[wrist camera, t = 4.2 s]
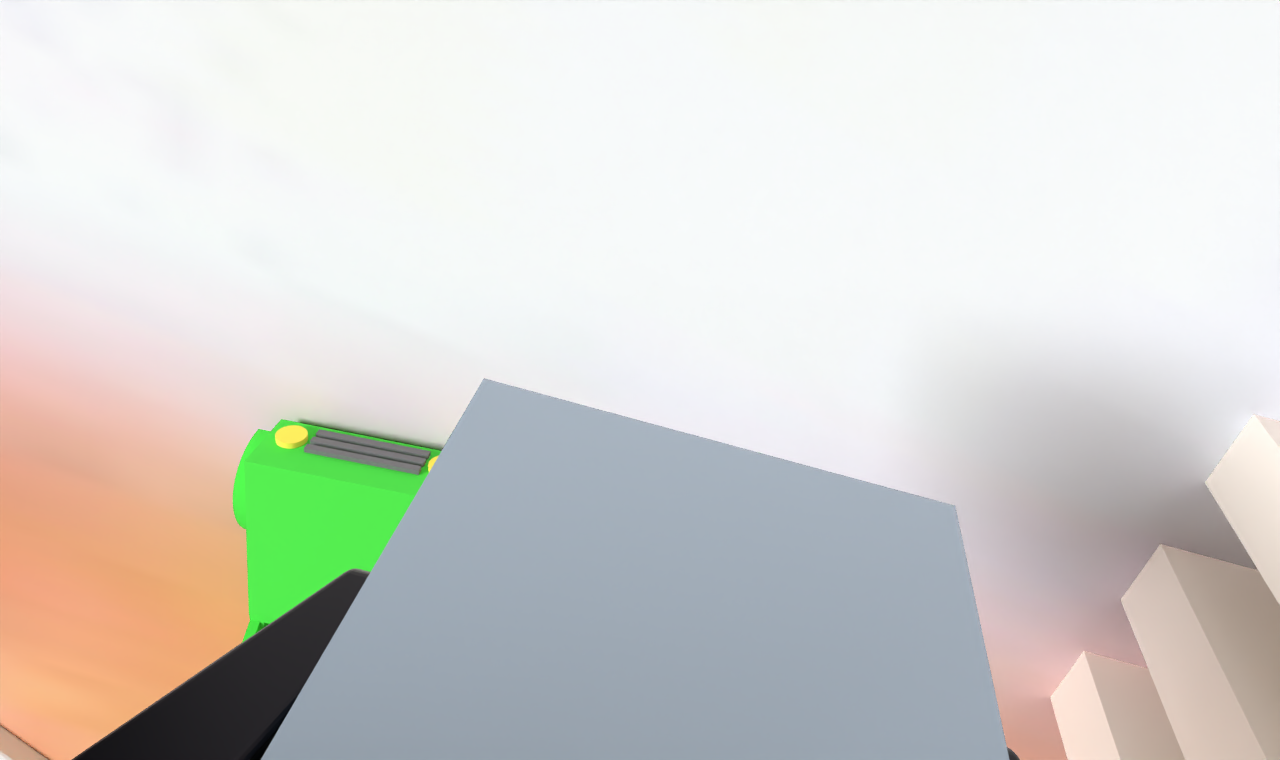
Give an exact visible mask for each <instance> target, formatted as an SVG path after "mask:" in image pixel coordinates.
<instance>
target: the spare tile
mask: <svg viewBox="0 0 1280 760" xmlns="http://www.w3.org/2000/svg"><path fill="white" fill-rule="evenodd" d="M261 760H1009V755H1008V751H1007V746H1006V741H1005V737H1004V732H1003V727H1002V723H1001V718H1000V713H999V709H998V704H997V699H996V695H995V690H994V685H993V681H992V676H991V671H990V667H989V662H988V657H987V653H986V648H985V643H984V639H983V634H982V629H981V625H980V620H979V615H978V611H977V606H976V601H975V597H974V592H973V587H972V583H971V578H970V573H969V569H968V564H967V559H966V555H965V550H964V545H963V540H962V536H961V531H960V526H959V522H958V517H957V512H956V508H955V506H954V505H950V504H946V503H943V502H939V501H935V500H932V499H928V498H924V497H921V496H917V495H913V494H909V493H906V492H902V491H898V490H895V489H891V488H887V487H884V486H880V485H876V484H872V483H869V482H865V481H861V480H858V479H854V478H850V477H847V476H843V475H839V474H835V473H832V472H828V471H824V470H821V469H817V468H813V467H810V466H806V465H802V464H798V463H795V462H791V461H787V460H784V459H780V458H776V457H773V456H769V455H765V454H761V453H758V452H754V451H750V450H747V449H743V448H739V447H736V446H732V445H728V444H724V443H721V442H717V441H713V440H710V439H706V438H702V437H699V436H695V435H691V434H687V433H684V432H680V431H676V430H673V429H669V428H665V427H662V426H658V425H654V424H650V423H647V422H643V421H639V420H636V419H632V418H628V417H625V416H621V415H617V414H613V413H610V412H606V411H602V410H599V409H595V408H591V407H588V406H584V405H580V404H576V403H573V402H569V401H565V400H562V399H558V398H554V397H551V396H547V395H543V394H539V393H536V392H532V391H528V390H525V389H521V388H517V387H514V386H510V385H506V384H502V383H499V382H495V381H491V380H488V379H483V381H482V383H481V385H480V386H479V388H478V390H477V391H476V393H475V395H474V396H473V398H472V400H471V402H470V403H469V405H468V407H467V408H466V410H465V412H464V414H463V415H462V417H461V419H460V420H459V422H458V424H457V425H456V427H455V429H454V431H453V432H452V434H451V436H450V437H449V439H448V441H447V443H446V444H445V446H444V448H443V449H442V451H441V453H440V455H439V456H438V458H437V460H436V461H435V463H434V465H433V466H432V468H431V470H430V472H429V473H428V475H427V477H426V478H425V480H424V482H423V484H422V485H421V487H420V489H419V490H418V492H417V494H416V495H415V497H414V499H413V501H412V502H411V504H410V506H409V507H408V509H407V511H406V513H405V514H404V516H403V518H402V519H401V521H400V523H399V524H398V526H397V528H396V530H395V531H394V533H393V535H392V536H391V538H390V540H389V542H388V543H387V545H386V547H385V548H384V550H383V552H382V554H381V555H380V557H379V559H378V560H377V562H376V564H375V565H374V567H373V569H372V571H371V572H370V574H369V576H368V577H367V579H366V581H365V583H364V584H363V586H362V588H361V589H360V591H359V593H358V594H357V596H356V598H355V600H354V601H353V603H352V605H351V606H350V608H349V610H348V612H347V613H346V615H345V617H344V618H343V620H342V622H341V624H340V625H339V627H338V629H337V630H336V632H335V634H334V635H333V637H332V639H331V641H330V642H329V644H328V646H327V647H326V649H325V651H324V653H323V654H322V656H321V658H320V659H319V661H318V663H317V664H316V666H315V668H314V670H313V671H312V673H311V675H310V676H309V678H308V680H307V682H306V683H305V685H304V687H303V688H302V690H301V692H300V694H299V695H298V697H297V699H296V700H295V702H294V704H293V705H292V707H291V709H290V711H289V712H288V714H287V716H286V717H285V719H284V721H283V723H282V724H281V726H280V728H279V729H278V731H277V733H276V734H275V736H274V738H273V740H272V741H271V743H270V745H269V746H268V748H267V750H266V752H265V753H264V755H263V757H262V758H261Z"/></svg>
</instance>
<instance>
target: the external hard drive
mask: <svg viewBox="0 0 1280 760" xmlns="http://www.w3.org/2000/svg"><path fill="white" fill-rule="evenodd" d="M0 760H48V759H47V758H46V757H44V756H43V755H41V754H40V753H38V752H37V751H36V750H34V749H33V748H31V747H30V746H29V745H27V744H26V743H24V742H23V741H21V740H20V739H19V738H17V737H16V736H14V735H13V734H12V733H10V732H9V731H7V730H6V729H5V728H3V727H2V726H0Z"/></svg>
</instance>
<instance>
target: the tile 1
mask: <svg viewBox="0 0 1280 760" xmlns="http://www.w3.org/2000/svg"><path fill="white" fill-rule="evenodd" d="M1050 698H1051V702H1052V705H1053V709H1054V712H1055V716H1056V720H1057V723H1058V727H1059V730H1060V734H1061V737H1062V741H1063V745H1064V748H1065V752H1066V755H1067V759H1068V760H1185V758H1184V756H1183V753H1182V751H1181V748H1180V746H1179V743H1178V741H1177V738H1176V736H1175V733H1174V731H1173V728H1172V726H1171V724H1170V721H1169V719H1168V716H1167V714H1166V711H1165V709H1164V706H1163V704H1162V701H1161V699H1160V696H1159V694H1158V691H1157V689H1156V686H1155V684H1154V682H1153V679H1152V677H1151V674H1150V672H1149V669H1148V668H1145V667H1141V666H1138V665H1134V664H1130V663H1127V662H1123V661H1119V660H1116V659H1112V658H1108V657H1105V656H1101V655H1097V654H1094V653H1090V652H1086V651H1083V653H1082V654H1081V655H1080V657H1079V658H1078V660H1077V661H1076V662H1075V664H1074V665H1073V667H1072V668H1071V669H1070V671H1069V672H1068V674H1067V675H1066V676H1065V678H1064V679H1063V681H1062V682H1061V683H1060V685H1059V686H1058V687H1057V689H1056V690H1055V692H1054V693H1053V694H1052V696H1051V697H1050Z"/></svg>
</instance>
